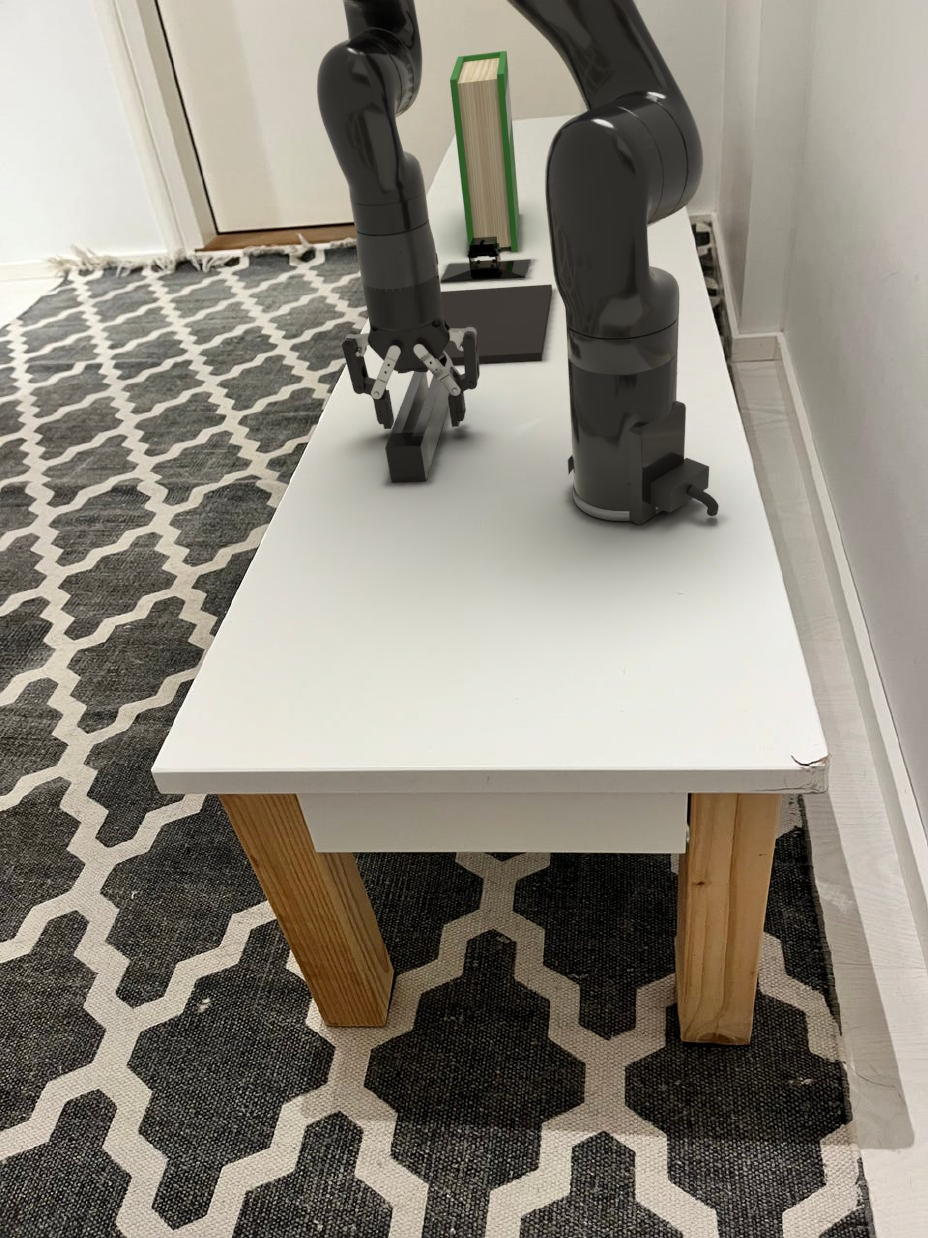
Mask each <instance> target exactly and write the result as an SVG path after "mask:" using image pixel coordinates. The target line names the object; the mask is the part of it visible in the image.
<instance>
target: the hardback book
mask: <svg viewBox="0 0 928 1238" xmlns="http://www.w3.org/2000/svg"><path fill="white" fill-rule="evenodd" d="M509 75H510V74H509V63H508V51H507V50H502V51H501V50H500V51H492V52H484V53H477V54H476V53H475V54H469V55H461V56H460V55H459V56H457V58H456V60H455V64H454V67H453V69H452V73H451V75H450V79H449V84H450V85H449V86H450V95H451V103H452V112H453V119H454V121H453V122H454V130H455V141H456V148H457V149H456V150H457V157H458V158H457V159H458V166H459V176H460V184H461V185H460V186H461V192H462V202H463V212H464V221H465V229H466V238H467V239H466V240H467V247H468V248H467V249H468V250H469V244H470V242H471V240H472V238H479V237H495V236H497V243H499V246H500V248H509V247H510V248H511V253H517V252H519V251H518V250H519V235H520V231H519V230H520V207H519V193H518V182H517V181H518V180H517V167H516V154H515V142H514V130H513V128H514V127H513V115H512V102H511V89H510V76H509Z"/></svg>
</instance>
